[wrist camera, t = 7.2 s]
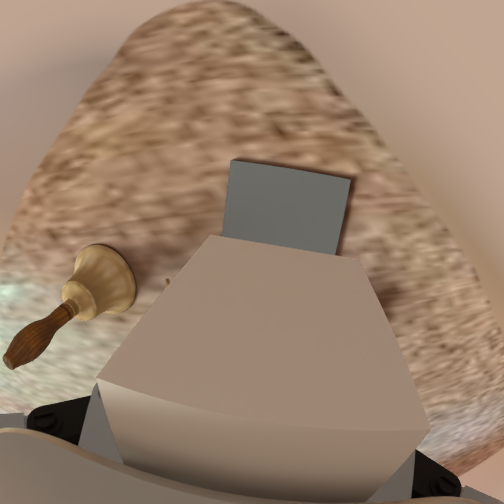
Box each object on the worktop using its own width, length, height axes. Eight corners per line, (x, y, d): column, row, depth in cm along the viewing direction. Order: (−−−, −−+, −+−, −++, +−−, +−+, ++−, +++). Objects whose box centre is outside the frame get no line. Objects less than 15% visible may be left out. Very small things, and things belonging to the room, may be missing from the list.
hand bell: (88, 311, 34) (7, 394, 19) (68, 246, 31) (-35, 313, 16) (144, 313, 32) (66, 416, 17) (125, 241, 30) (16, 322, 15)
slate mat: (349, 178, 25) (350, 179, 24) (326, 285, 28) (326, 288, 28) (232, 159, 26) (230, 160, 25) (220, 268, 29) (218, 270, 29)
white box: (359, 259, 10) (433, 430, 3) (306, 417, 13) (301, 554, 6) (209, 234, 10) (93, 379, 4) (199, 399, 13) (152, 529, 7)
